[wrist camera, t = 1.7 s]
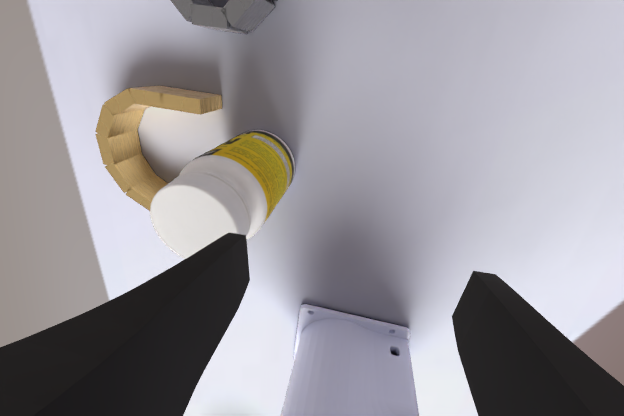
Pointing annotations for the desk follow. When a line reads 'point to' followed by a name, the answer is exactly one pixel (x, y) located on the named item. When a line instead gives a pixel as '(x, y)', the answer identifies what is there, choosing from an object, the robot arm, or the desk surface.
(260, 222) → the supplement bottle
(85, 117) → the desk surface
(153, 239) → the desk surface
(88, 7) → the desk surface
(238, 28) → the small steel collar
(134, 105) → the wide wooden arch
